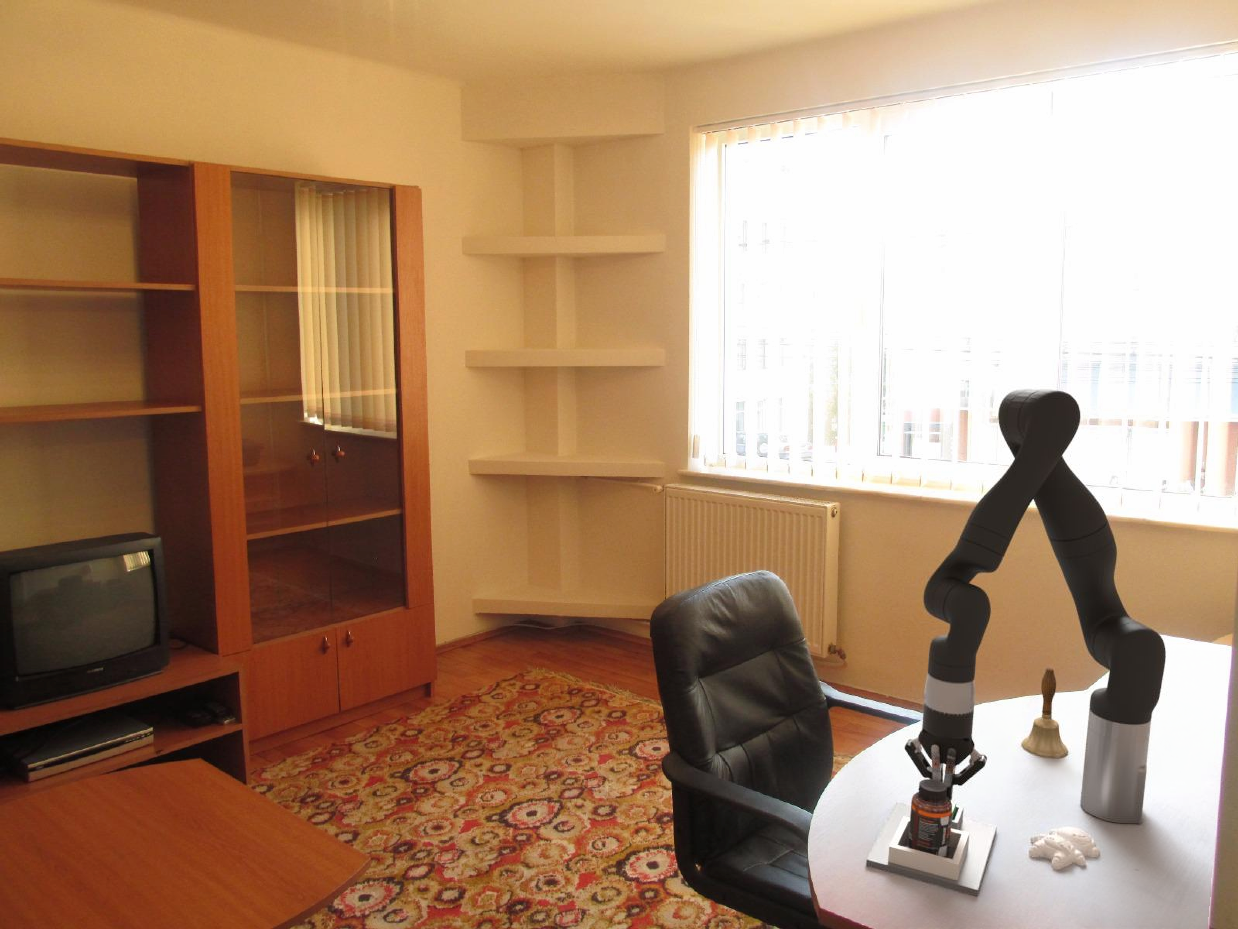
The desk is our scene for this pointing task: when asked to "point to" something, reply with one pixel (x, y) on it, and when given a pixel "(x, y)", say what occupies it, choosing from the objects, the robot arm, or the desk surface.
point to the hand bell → (1046, 725)
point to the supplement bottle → (931, 819)
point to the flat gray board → (953, 872)
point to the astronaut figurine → (1064, 846)
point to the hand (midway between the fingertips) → (941, 804)
